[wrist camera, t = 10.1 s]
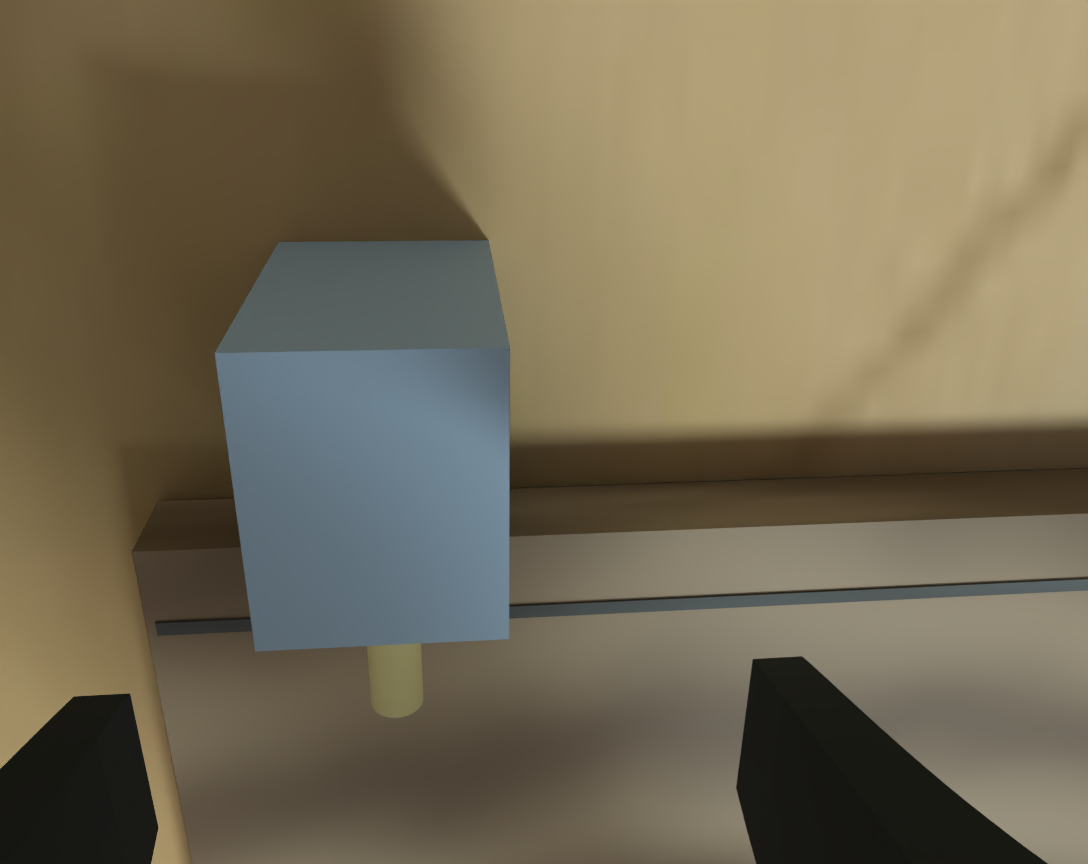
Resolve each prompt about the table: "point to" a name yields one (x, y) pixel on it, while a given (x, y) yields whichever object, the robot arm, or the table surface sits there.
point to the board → (642, 672)
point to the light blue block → (372, 452)
